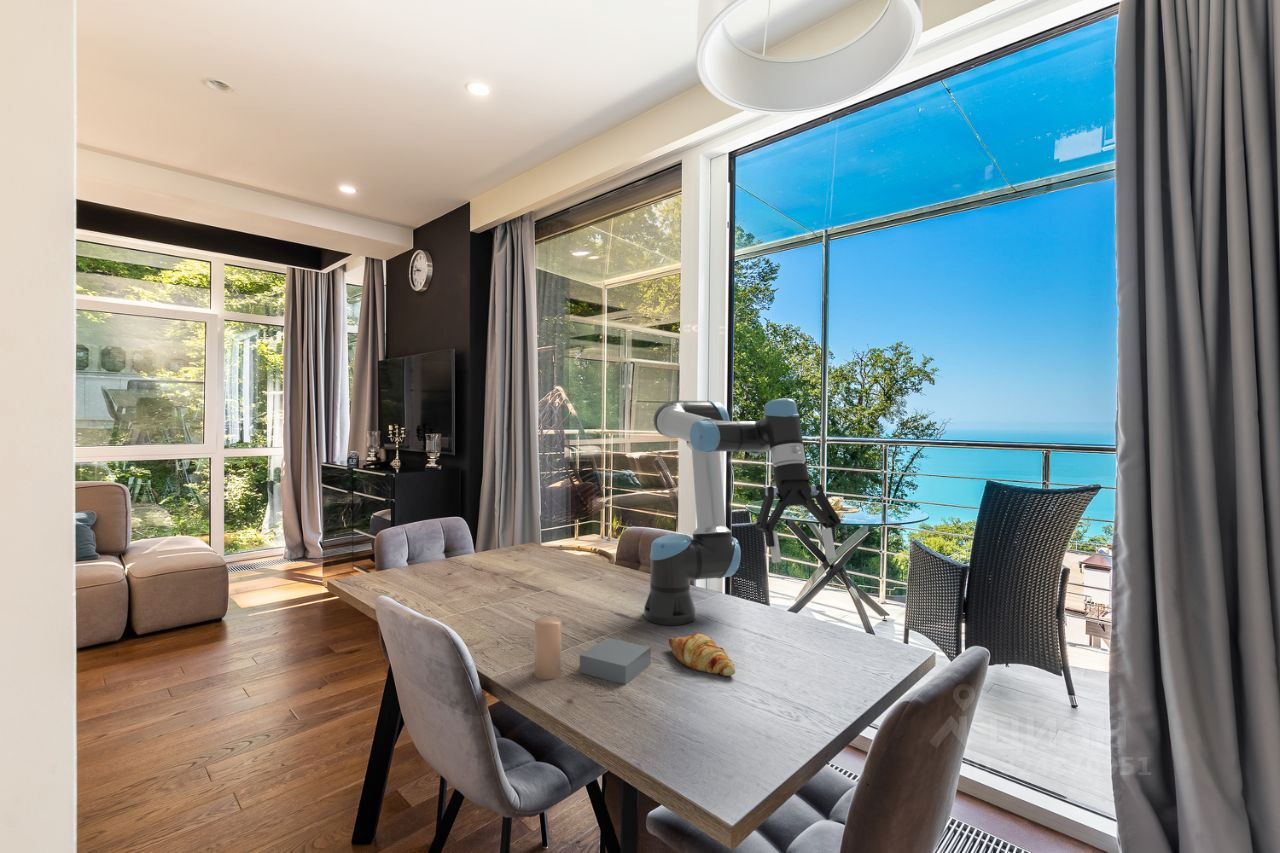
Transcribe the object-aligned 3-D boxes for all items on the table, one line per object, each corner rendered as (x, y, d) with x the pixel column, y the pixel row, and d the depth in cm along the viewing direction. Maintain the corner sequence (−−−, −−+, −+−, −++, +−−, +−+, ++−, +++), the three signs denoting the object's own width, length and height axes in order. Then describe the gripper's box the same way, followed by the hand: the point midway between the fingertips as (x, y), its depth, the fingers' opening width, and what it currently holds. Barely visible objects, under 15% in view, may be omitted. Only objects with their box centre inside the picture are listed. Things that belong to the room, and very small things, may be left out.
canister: (545, 665, 135) (545, 614, 135) (566, 671, 132) (566, 619, 132) (528, 675, 130) (529, 622, 129) (550, 681, 127) (550, 627, 127)
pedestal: (607, 653, 142) (607, 637, 142) (650, 664, 137) (650, 647, 136) (579, 672, 132) (579, 655, 132) (625, 684, 126) (625, 666, 126)
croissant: (742, 690, 131) (753, 655, 133) (716, 681, 125) (729, 645, 127) (676, 658, 147) (687, 628, 149) (651, 649, 141) (663, 617, 143)
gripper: (747, 462, 125) (761, 563, 119) (846, 460, 132) (863, 554, 127) (732, 470, 132) (745, 565, 126) (827, 467, 139) (842, 557, 134)
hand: (804, 560), depth 126 cm, fingers open, 13 cm apart
